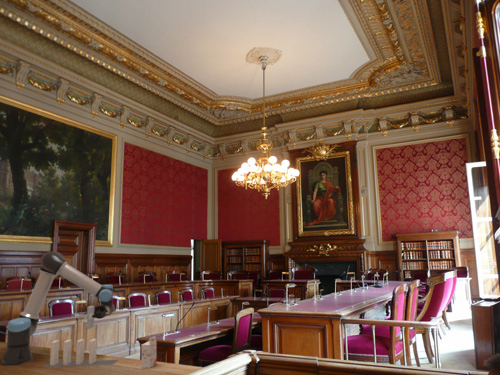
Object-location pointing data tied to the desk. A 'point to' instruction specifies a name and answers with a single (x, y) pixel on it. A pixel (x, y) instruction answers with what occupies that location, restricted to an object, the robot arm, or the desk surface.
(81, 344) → the domino
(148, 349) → the ink cartridge box
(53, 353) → the domino
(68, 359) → the domino
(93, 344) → the domino
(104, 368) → the desk surface
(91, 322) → the slate domino
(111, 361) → the runway mat
